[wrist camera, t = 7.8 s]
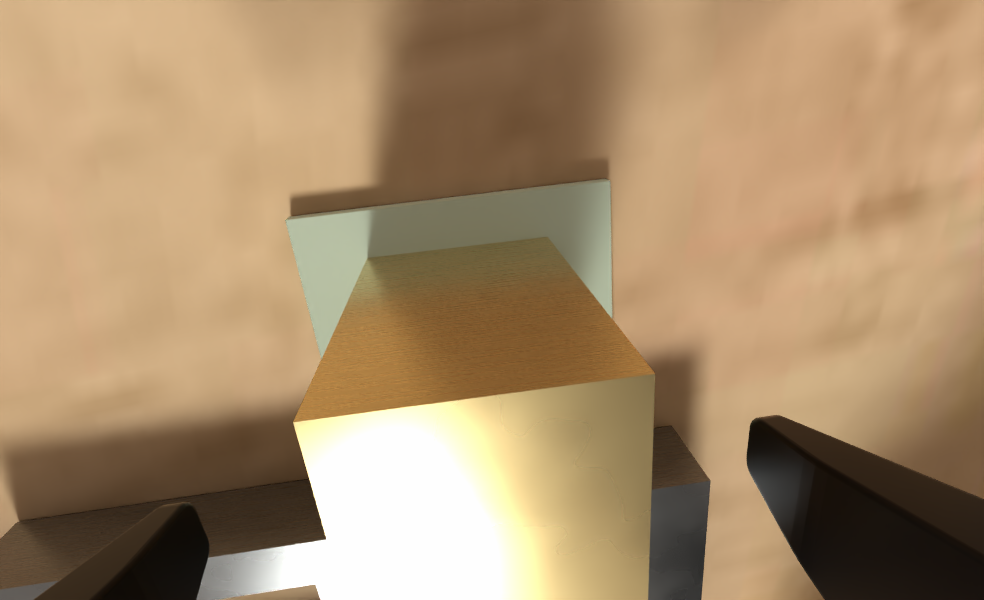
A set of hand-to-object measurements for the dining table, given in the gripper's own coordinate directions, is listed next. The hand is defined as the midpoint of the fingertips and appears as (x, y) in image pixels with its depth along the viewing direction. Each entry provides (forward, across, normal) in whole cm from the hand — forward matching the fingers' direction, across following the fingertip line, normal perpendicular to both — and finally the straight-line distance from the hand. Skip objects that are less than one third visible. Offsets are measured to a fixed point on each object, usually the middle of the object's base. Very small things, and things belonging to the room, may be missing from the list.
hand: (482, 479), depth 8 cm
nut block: (+6, 0, 0) cm, 6 cm away
